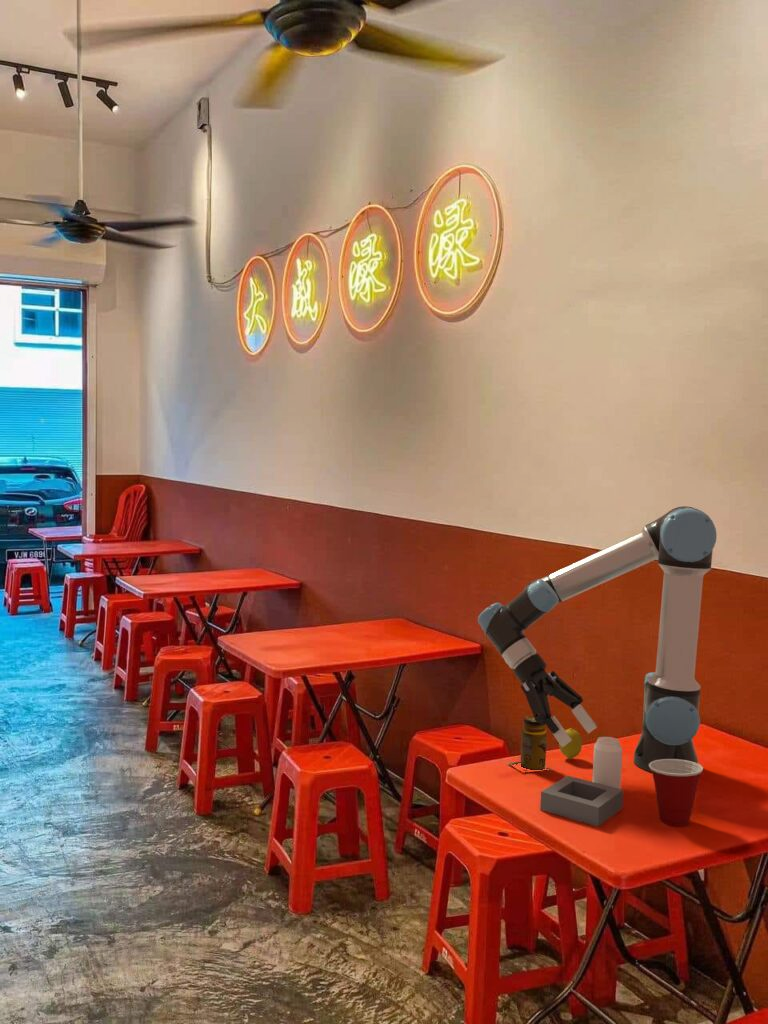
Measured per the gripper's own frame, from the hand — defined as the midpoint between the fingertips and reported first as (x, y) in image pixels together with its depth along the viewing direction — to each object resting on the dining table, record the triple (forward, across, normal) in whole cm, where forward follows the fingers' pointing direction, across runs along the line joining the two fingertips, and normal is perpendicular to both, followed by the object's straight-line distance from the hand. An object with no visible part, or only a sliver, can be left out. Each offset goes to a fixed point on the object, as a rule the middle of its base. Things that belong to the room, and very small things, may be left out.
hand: (580, 737), depth 201 cm
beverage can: (+13, 0, -4) cm, 13 cm away
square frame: (+13, +12, -3) cm, 18 cm away
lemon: (+2, -16, -15) cm, 22 cm away
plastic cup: (+25, +5, +9) cm, 27 cm away
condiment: (-2, -4, -18) cm, 19 cm away
